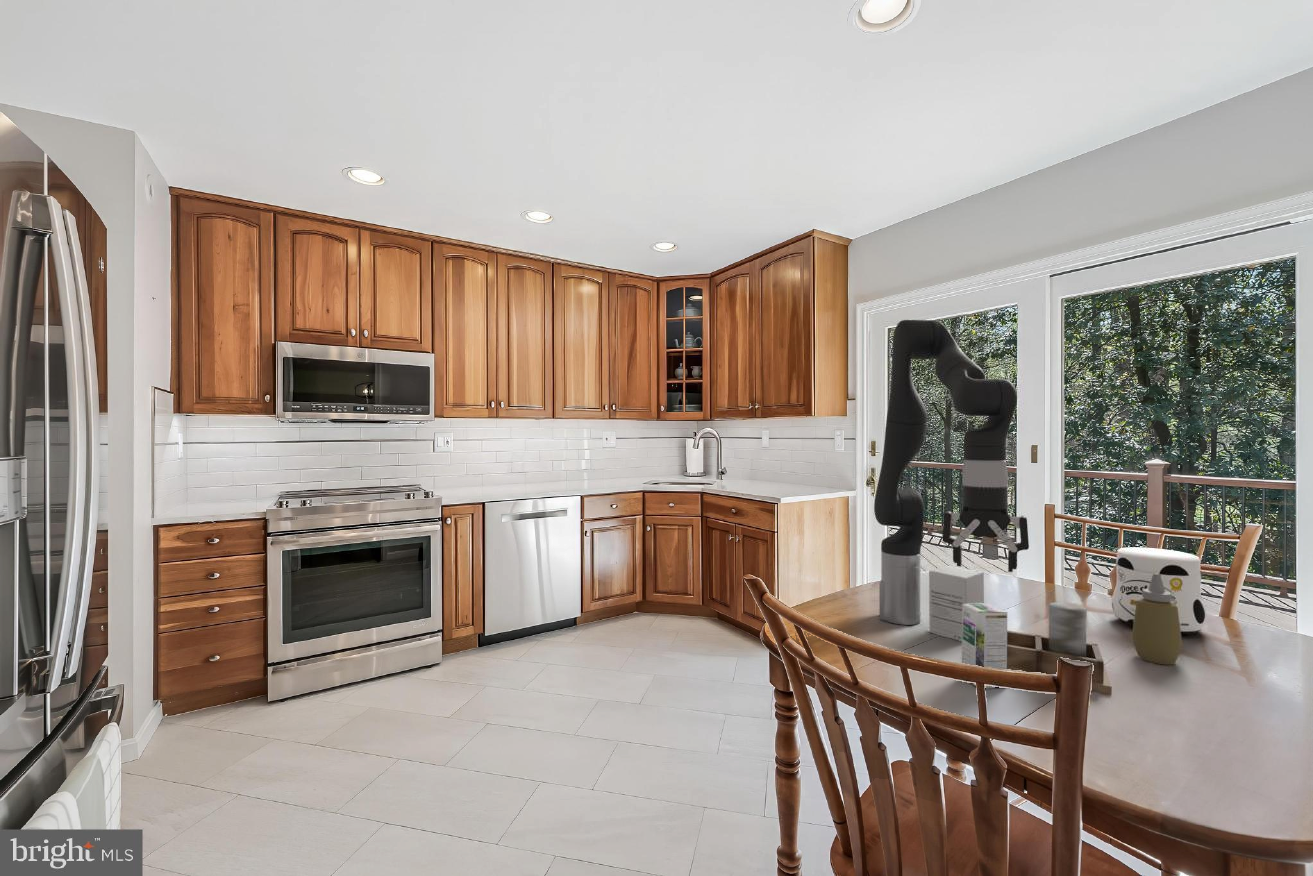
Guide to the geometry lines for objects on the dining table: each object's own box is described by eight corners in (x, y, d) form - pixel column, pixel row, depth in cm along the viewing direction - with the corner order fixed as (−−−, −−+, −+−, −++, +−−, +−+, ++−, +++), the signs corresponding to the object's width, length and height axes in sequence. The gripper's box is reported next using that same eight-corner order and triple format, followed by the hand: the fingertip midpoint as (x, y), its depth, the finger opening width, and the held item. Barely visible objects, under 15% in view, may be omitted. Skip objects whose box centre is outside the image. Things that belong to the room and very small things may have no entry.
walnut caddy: (974, 669, 117) (974, 602, 117) (977, 649, 128) (977, 588, 127) (1111, 694, 106) (1111, 621, 106) (1103, 671, 116) (1104, 604, 116)
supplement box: (947, 624, 144) (947, 564, 144) (985, 635, 137) (985, 571, 137) (927, 632, 139) (927, 569, 139) (965, 643, 132) (966, 577, 131)
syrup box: (960, 676, 114) (960, 603, 114) (988, 675, 114) (988, 602, 114) (978, 689, 108) (978, 612, 108) (1008, 688, 109) (1008, 611, 109)
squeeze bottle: (1170, 655, 124) (1170, 571, 124) (1190, 669, 116) (1191, 580, 116) (1124, 650, 127) (1125, 568, 126) (1141, 664, 119) (1142, 577, 119)
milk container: (1126, 634, 137) (1126, 558, 136) (1101, 612, 153) (1102, 544, 152) (1221, 644, 130) (1222, 564, 130) (1185, 620, 146) (1185, 549, 146)
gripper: (940, 483, 111) (940, 568, 112) (1029, 487, 104) (1029, 577, 104) (945, 480, 118) (945, 560, 118) (1028, 483, 110) (1028, 569, 110)
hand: (984, 568), depth 111 cm, fingers open, 8 cm apart
